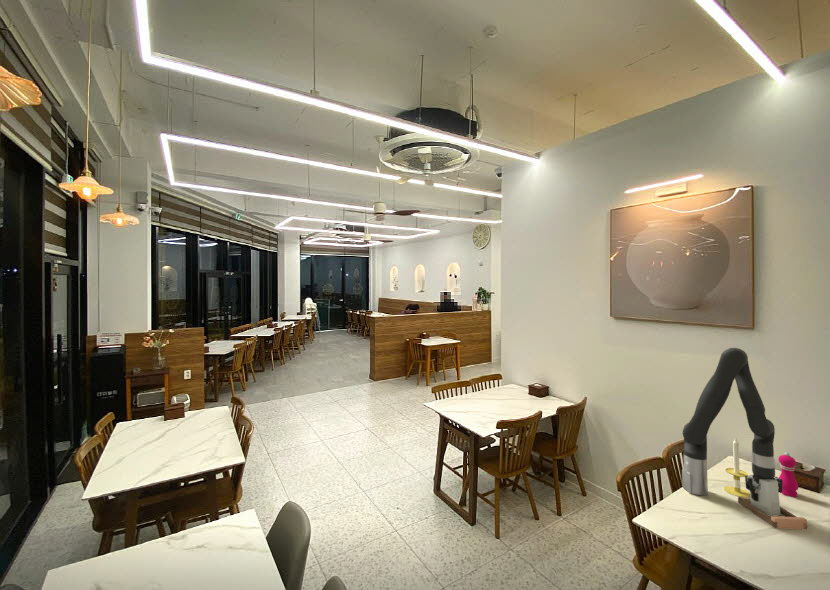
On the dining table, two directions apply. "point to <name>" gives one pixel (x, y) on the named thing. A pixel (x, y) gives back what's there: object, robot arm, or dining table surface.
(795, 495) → the pepper mill
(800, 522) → the stop block
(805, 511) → the dining table surface
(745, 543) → the dining table surface
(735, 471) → the candle
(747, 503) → the guide channel
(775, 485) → the skincare box
